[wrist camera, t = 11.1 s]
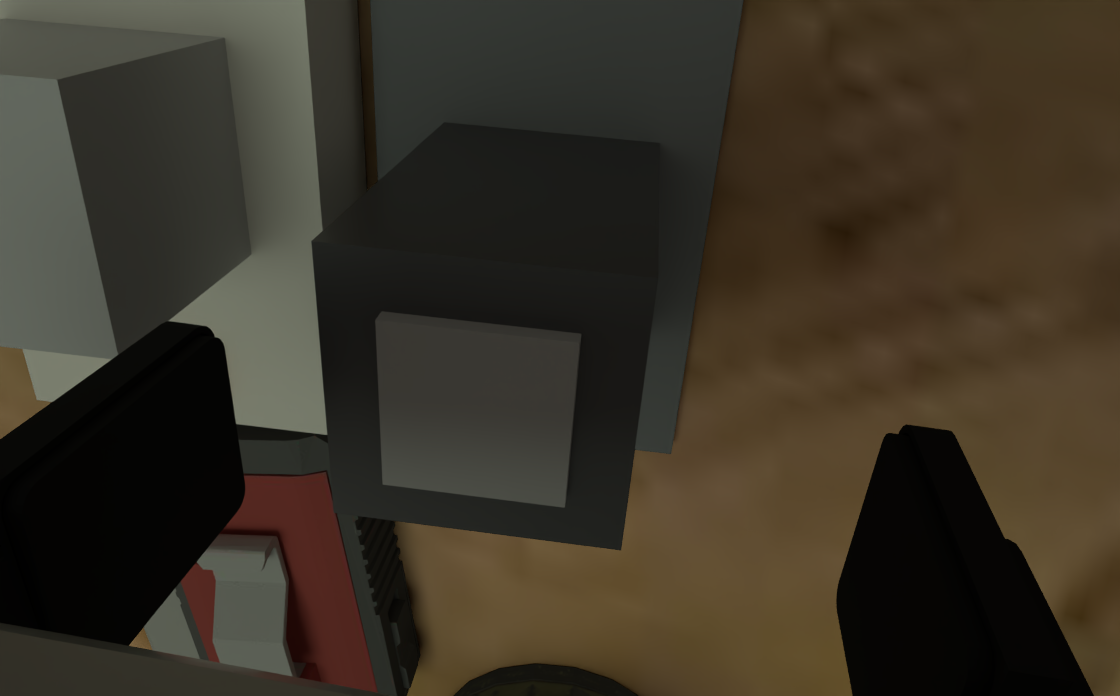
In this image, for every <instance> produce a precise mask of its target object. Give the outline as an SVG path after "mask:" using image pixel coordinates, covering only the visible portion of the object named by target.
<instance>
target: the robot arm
mask: <svg viewBox="0 0 1120 696" xmlns="http://www.w3.org/2000/svg"><path fill="white" fill-rule="evenodd" d="M244 496H245V479H244V473H243V466H242V459H241V453H240V446H239V439H238V433H237V426H236V420H235V413H234V406H233V400H232V393H231V386H230V380H229V373H228V366H227V360H226V353H225V348H224V344H223V342H222V341H221V339H219V338H217V337H215V336H214V333H213V332H212V330H211V329H210V328H208V327H207V326H202V325H195V324H188V323H180V322H173V321H166V322H164V323H162V324H160V325H159V326H158V327H156V328H155V329H153V330H152V331H151V332H149V333H148V334H146V335H145V336H144V337H142V338H141V339H139V340H138V341H137V342H135V343H134V344H133V345H131V346H130V347H128V348H127V349H126V350H124V351H123V352H121V353H120V354H119V355H117V356H116V357H114V358H113V359H112V360H110V361H109V362H107V363H106V364H105V365H103V366H102V367H100V368H99V369H98V370H96V371H95V372H94V373H92V374H91V375H89V376H88V377H87V378H85V379H84V380H82V381H81V382H80V383H78V384H77V385H75V386H74V387H73V388H71V389H70V390H68V391H67V392H66V393H64V394H63V395H61V396H60V397H59V398H57V399H56V400H55V401H53V402H52V403H50V404H49V405H48V406H46V407H45V408H43V409H42V410H41V411H39V412H38V413H36V414H35V415H34V416H32V417H31V418H29V419H28V420H27V421H25V422H24V423H22V424H21V425H20V426H18V427H17V428H16V429H14V430H13V431H11V432H10V433H9V434H7V435H6V436H4V437H3V438H2V439H0V696H392V695H387V694H382V693H376V692H371V691H366V690H361V689H356V688H350V687H345V686H340V685H335V684H329V683H324V682H319V681H314V680H308V679H303V678H298V677H293V676H287V675H282V674H277V673H272V672H266V671H261V670H256V669H250V668H245V667H240V666H234V665H229V664H224V663H218V662H213V661H207V660H202V659H197V658H191V657H186V656H180V655H175V654H170V653H164V652H159V651H153V650H148V649H143V648H137V647H132V646H129V645H130V643H131V642H132V641H133V640H134V638H135V637H136V636H137V635H138V633H139V632H140V631H141V630H142V628H143V627H144V626H145V625H146V624H147V622H148V621H149V620H150V619H151V617H152V616H153V615H154V614H155V612H156V611H157V610H158V609H159V608H160V606H161V605H162V604H163V603H164V601H165V600H166V599H167V598H168V596H169V595H170V594H171V593H172V592H173V590H174V589H175V588H176V587H177V585H178V584H179V583H180V582H181V580H182V579H183V578H184V577H185V576H186V574H187V573H188V572H189V571H190V569H191V568H192V567H193V566H194V564H195V563H196V562H197V561H198V560H199V558H200V557H201V556H202V555H203V553H204V552H205V551H206V550H207V548H208V547H209V546H210V545H211V544H212V542H213V541H214V540H215V539H216V537H217V536H218V535H219V534H220V532H221V531H222V530H223V529H224V528H225V526H226V525H227V524H228V523H229V521H230V520H231V519H232V518H233V516H234V515H235V514H236V513H237V512H238V510H239V508H240V507H241V505H242V502H243V499H244ZM836 602H837V614H838V619H839V624H840V630H841V635H842V640H843V646H844V651H845V657H846V662H847V667H848V673H849V678H850V683H851V689H852V694H853V696H1094V695H1093V693H1092V691H1091V689H1090V687H1089V685H1088V683H1087V681H1086V679H1085V677H1084V675H1083V673H1082V671H1081V669H1080V667H1079V665H1078V663H1077V661H1076V659H1075V657H1074V655H1073V653H1072V651H1071V649H1070V647H1069V645H1068V643H1067V641H1066V639H1065V637H1064V635H1063V633H1062V631H1061V629H1060V627H1059V625H1058V623H1057V621H1056V619H1055V617H1054V615H1053V613H1052V611H1051V609H1050V607H1049V605H1048V603H1047V601H1046V599H1045V597H1044V595H1043V593H1042V591H1041V589H1040V587H1039V585H1038V583H1037V581H1036V579H1035V577H1034V575H1033V573H1032V571H1031V569H1030V567H1029V565H1028V563H1027V561H1026V559H1025V557H1024V555H1023V553H1022V552H1021V550H1020V549H1019V547H1018V546H1017V544H1016V543H1014V542H1012V541H1011V540H1009V539H1005V538H1004V536H1003V534H1002V532H1001V530H1000V528H999V526H998V524H997V521H996V519H995V517H994V515H993V513H992V511H991V509H990V507H989V505H988V503H987V501H986V499H985V497H984V495H983V493H982V490H981V488H980V486H979V484H978V482H977V480H976V478H975V476H974V474H973V472H972V470H971V468H970V466H969V464H968V462H967V459H966V457H965V455H964V453H963V451H962V449H961V447H960V445H959V443H958V441H957V439H956V437H955V435H954V434H953V432H952V431H948V430H942V429H935V428H928V427H920V426H913V425H905V426H903V427H902V428H901V430H900V431H899V434H893V433H888V434H886V436H885V437H884V439H883V442H882V444H881V448H880V451H879V454H878V457H877V460H876V464H875V467H874V470H873V473H872V477H871V480H870V483H869V486H868V490H867V493H866V496H865V499H864V502H863V506H862V509H861V512H860V515H859V519H858V522H857V525H856V528H855V532H854V535H853V538H852V541H851V544H850V548H849V551H848V554H847V557H846V561H845V564H844V567H843V570H842V574H841V577H840V580H839V584H838V589H837V600H836Z"/></svg>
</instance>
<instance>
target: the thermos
mask: <svg viewBox="0 0 1120 696" xmlns="http://www.w3.org/2000/svg"><path fill="white" fill-rule="evenodd" d="M454 696H637V695H636V694H634V693H633V692H631V691H629V690H628V689H626V688H625V687H623V686H621V685H620V684H618V683H616V682H615V681H613V680H611V679H608V678H605V677H602V676H599V675H596V674H593V673H590V672H587V671H584V670H581V669H577V668H573V667H563V666H552V665H542V664H531V665H523V666H516V667H508V668H501V669H497V670H495V671H493V672H490V673H488V674H485V675H483V676H481V677H478V678H476V679H474V680H471V681H469V682H468V683H467V684H466V685H465V686H464V687H463V688H461V689H460V690H459V691H458V692H457V693H456V694H455V695H454Z"/></svg>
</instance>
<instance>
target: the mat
mask: <svg viewBox="0 0 1120 696" xmlns="http://www.w3.org/2000/svg"><path fill="white" fill-rule="evenodd" d="M370 6H371V29H372V53H373V76H374V100H375V123H376V147H377V170H378V181H379V180H380V179H381V178H382V177H383V176H385V175H386V174H387V173H388V172H389V171H390V170H391V169H392V168H394V167H395V166H396V165H397V164H398V163H399V162H400V161H401V160H402V159H404V158H405V157H406V156H407V155H408V154H409V153H410V152H411V151H413V150H414V149H415V148H416V147H417V146H418V145H419V144H420V143H421V142H423V141H424V140H425V139H426V138H427V137H428V136H429V135H430V134H432V133H433V132H434V131H435V130H436V129H437V128H438V127H439V126H440V125H442V124H443V123H444V122H447V123H457V124H467V125H478V126H488V127H499V128H509V129H520V130H530V131H540V132H551V133H561V134H572V135H582V136H593V137H603V138H614V139H624V140H634V141H645V142H655V143H660V158H659V262H658V284H657V292H656V299H655V306H654V314H653V321H652V328H651V335H650V343H649V350H648V357H647V365H646V372H645V379H644V386H643V394H642V401H641V408H640V416H639V423H638V430H637V437H636V445H635V450H642V451H650V452H659V453H667V454H671V451H672V444H673V438H674V432H675V426H676V419H677V413H678V407H679V401H680V394H681V388H682V382H683V376H684V369H685V363H686V357H687V351H688V344H689V338H690V332H691V325H692V319H693V313H694V307H695V300H696V294H697V288H698V282H699V275H700V269H701V263H702V257H703V250H704V244H705V238H706V232H707V225H708V219H709V213H710V206H711V200H712V194H713V188H714V181H715V175H716V169H717V163H718V156H719V150H720V144H721V138H722V131H723V125H724V119H725V113H726V106H727V100H728V94H729V87H730V81H731V75H732V69H733V62H734V56H735V50H736V44H737V37H738V31H739V25H740V19H741V12H742V6H743V0H370Z"/></svg>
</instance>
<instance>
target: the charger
mask: <svg viewBox="0 0 1120 696" xmlns="http://www.w3.org/2000/svg"><path fill="white" fill-rule="evenodd" d="M659 158H660V143H655V142H645V141H634V140H624V139H614V138H603V137H593V136H582V135H572V134H561V133H551V132H540V131H530V130H520V129H509V128H499V127H488V126H478V125H467V124H457V123H447V122H444V123H443V124H442V125H440V126H439V127H438V128H437V129H436V130H435V131H434V132H433V133H432V134H430V135H429V136H428V137H427V138H426V139H425V140H424V141H423V142H421V143H420V144H419V145H418V146H417V147H416V148H415V149H414V150H413V151H411V152H410V153H409V154H408V155H407V156H406V157H405V158H404V159H402V160H401V161H400V162H399V163H398V164H397V165H396V166H395V167H394V168H392V169H391V170H390V171H389V172H388V173H387V174H386V175H385V176H383V177H382V178H381V179H380V180H379V181H378V182H377V183H376V184H375V185H373V186H372V187H371V188H370V189H369V190H368V191H367V192H366V193H364V194H363V195H362V196H361V197H360V198H359V199H358V200H357V201H356V202H354V203H353V204H352V205H351V206H350V207H349V208H348V209H347V210H345V211H344V212H343V213H342V214H341V215H340V216H339V217H338V218H337V219H335V220H334V221H333V222H332V223H331V224H330V225H329V226H328V227H326V228H325V229H324V230H323V231H322V232H321V233H320V234H319V235H318V236H316V237H315V238H314V239H313V240H312V241H311V244H312V256H313V268H314V280H315V292H316V305H317V317H318V329H319V341H320V353H321V365H322V377H323V390H324V402H325V414H326V426H327V438H328V450H329V462H330V475H331V487H332V499H333V511H334V513H338V514H346V515H354V516H361V517H369V518H377V519H384V520H392V521H400V522H407V523H415V524H423V525H431V526H438V527H446V528H454V529H461V530H469V531H477V532H484V533H492V534H500V535H507V536H515V537H523V538H530V539H538V540H546V541H553V542H561V543H569V544H576V545H584V546H592V547H600V548H607V549H615V550H621V547H622V540H623V532H624V525H625V518H626V510H627V503H628V496H629V488H630V481H631V474H632V467H633V459H634V452H635V445H636V437H637V430H638V423H639V416H640V408H641V401H642V394H643V386H644V379H645V372H646V365H647V357H648V350H649V343H650V335H651V328H652V321H653V314H654V306H655V299H656V292H657V284H658V262H659Z"/></svg>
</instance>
